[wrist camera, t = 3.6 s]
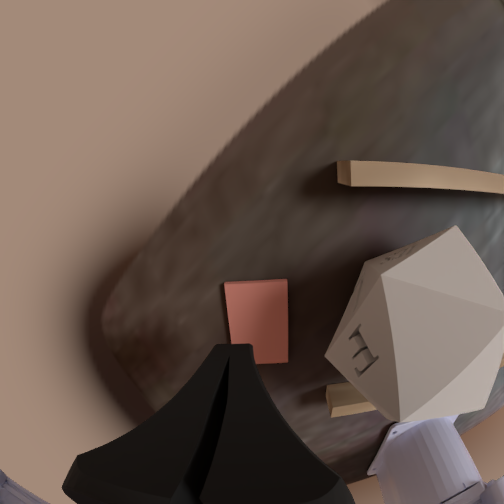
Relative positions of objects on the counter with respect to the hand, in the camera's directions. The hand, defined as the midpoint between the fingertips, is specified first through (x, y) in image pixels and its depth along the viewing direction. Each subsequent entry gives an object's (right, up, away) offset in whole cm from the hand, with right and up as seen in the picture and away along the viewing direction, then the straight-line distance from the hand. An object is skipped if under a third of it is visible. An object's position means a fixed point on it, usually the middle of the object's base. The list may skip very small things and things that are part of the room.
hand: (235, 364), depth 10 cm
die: (+8, +2, +4) cm, 9 cm away
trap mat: (+1, 0, +4) cm, 5 cm away
